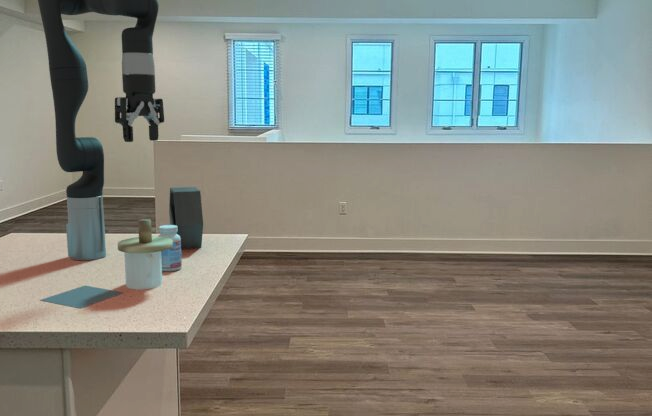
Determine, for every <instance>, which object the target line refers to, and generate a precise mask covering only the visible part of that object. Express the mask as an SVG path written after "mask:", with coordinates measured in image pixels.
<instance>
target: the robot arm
mask: <svg viewBox="0 0 652 416" xmlns="http://www.w3.org/2000/svg"><path fill="white" fill-rule="evenodd" d="M37 3H38V8H39V13H40V18H41V23H42V26H43V30H44V31H43V32H44V35H45V36H44V37H45V43H46V49H47V50H46V51H47V58H48V68H49V69H48V71H49V79H50V85H51V91H52V98H53V99H52V100H53V106H54V118H55V119H54V120H55V146H56V157H57V162H58V164H59V168H60V169H61V170H63V171H64V172H66V173H79V172H82V175H81V176H80V178H79V179H77V180H76V181H75V182H72V183H70V184H68V185H67V186H66V190H65V192H66V193H65V194H66V204H67V207H66V208H67V220H68V222H66V224H65V227H66V246H67V257H68V258H70V259H72V260H75V261H91V260H97V259H102V258H104V257H106V256H107V250H106V249H107V248H106V233H105V231H106V228H105V211H104V198H103V196H104V194H103V190H104V185H105V154H104V149H103V145H102V142H101V141H100V140H99V139H98V138H96V137H93V136H91V137H90V136H87V137H77V136H76V119H77V116H78V113H79V111H80V108H81V106H82V104H83V103H84V101H85V99H86V96H87V94H88V91H89V79H88V77H89V76H88V71H87V70H88V69H87V63H86V62H85V59H84V57H83V55H82V54H81V52H80V51H79V49H78V48H77V47H76V45H75V44H74V42H73V41H72V39H71V38H70V37H69V35H68V33H67V31H66V29H65V26H64V22H63V18H62V15H66V16H78V15H84V14H88V13H96V14H100V15H106V16H123V17H128V18H129V17H130V18H135V19H136V24H135V25H134V26H132V27H131V26H130V27H127V28H124V29H123V30H122V31H121V55H122V56H121V75H122V78H121V79H122V91H123V92H122V93H124V94H125V97H122V96H118V97H115V98H114V122H115V123H116V124H119V125H121V126H122V138H123V140H124V142H125V143H132V142H134V128H133V126H132V125H133V123H134V121H135V120H136V119H137V118H138V117H143V118H144V119H146V121H147V123H148V136H149V141H154V142H155V141H158V139H159V125H160V124H163V123H164V122H165V112H164V110H165V109H164V101H163V100H164V99H163V98H154V94H155V93H156V71H155V70H156V69H155V60H154V59H155V58H154V49H153V48H154V47H153V36H154V32H155V31H154V30H155V26H156V22H157V19H158V18H157V17H158V14H159V7H160V6H159V0H37Z"/></svg>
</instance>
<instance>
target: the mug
mask: <svg viewBox="0 0 652 416" xmlns="http://www.w3.org/2000/svg"><path fill="white" fill-rule="evenodd" d="M123 253H124V271H125V287H126V288H128V289H130V290H148V289H149V290H150V289H154V288H155V289H156V288H158V287H160V286H162V285H163V271H162V260H161V251H159V252H152V253H126V252H123Z"/></svg>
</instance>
